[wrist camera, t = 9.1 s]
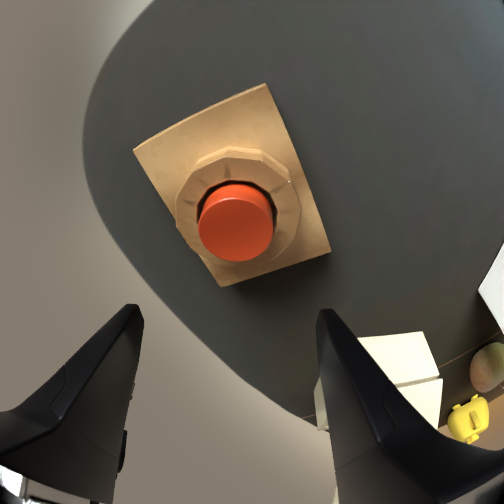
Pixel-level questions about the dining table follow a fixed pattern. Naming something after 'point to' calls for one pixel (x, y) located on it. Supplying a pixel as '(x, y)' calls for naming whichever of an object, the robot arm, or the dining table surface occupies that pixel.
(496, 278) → the milk carton
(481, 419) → the teapot
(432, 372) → the box
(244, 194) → the switch button
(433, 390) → the lid
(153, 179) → the switch base
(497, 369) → the fruit
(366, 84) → the dining table surface
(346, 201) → the dining table surface
